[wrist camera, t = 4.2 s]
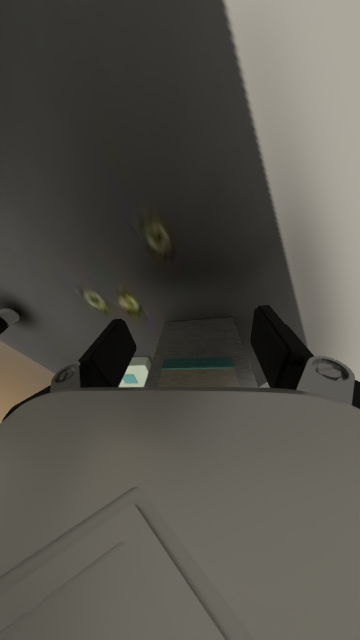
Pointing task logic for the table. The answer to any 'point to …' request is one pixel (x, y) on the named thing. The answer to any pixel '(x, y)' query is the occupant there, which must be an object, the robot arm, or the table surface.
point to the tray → (136, 372)
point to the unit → (200, 356)
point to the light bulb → (7, 318)
